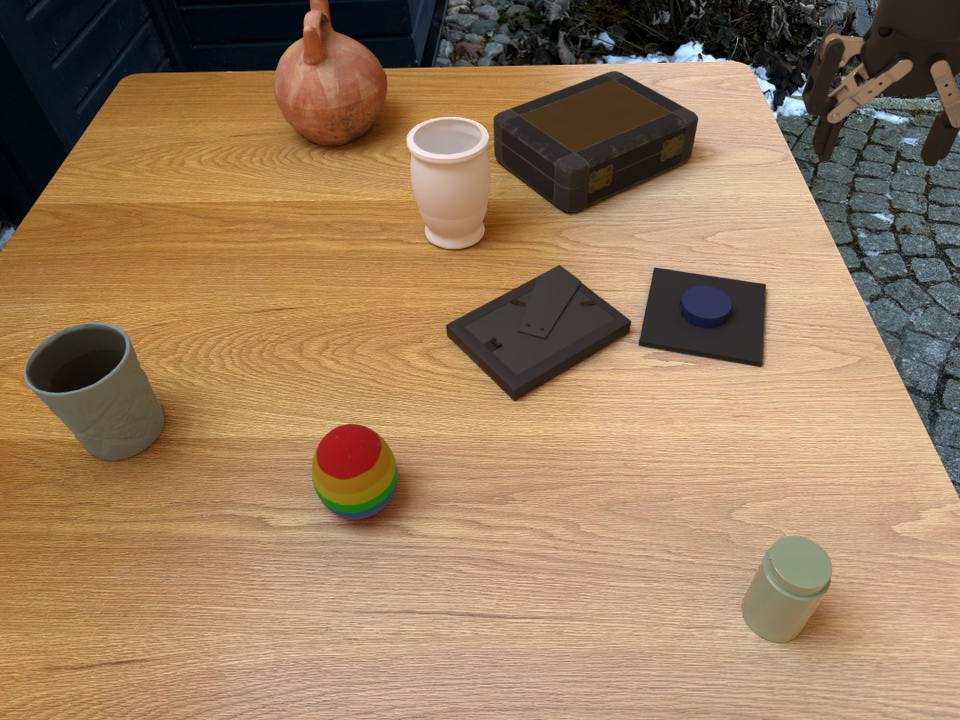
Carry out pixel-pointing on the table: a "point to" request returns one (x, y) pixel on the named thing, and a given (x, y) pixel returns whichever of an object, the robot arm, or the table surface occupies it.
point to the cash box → (593, 139)
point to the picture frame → (537, 331)
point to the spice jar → (787, 588)
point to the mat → (724, 342)
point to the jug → (329, 83)
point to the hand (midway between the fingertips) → (874, 159)
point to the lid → (705, 306)
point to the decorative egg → (354, 471)
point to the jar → (450, 179)
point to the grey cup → (97, 389)
